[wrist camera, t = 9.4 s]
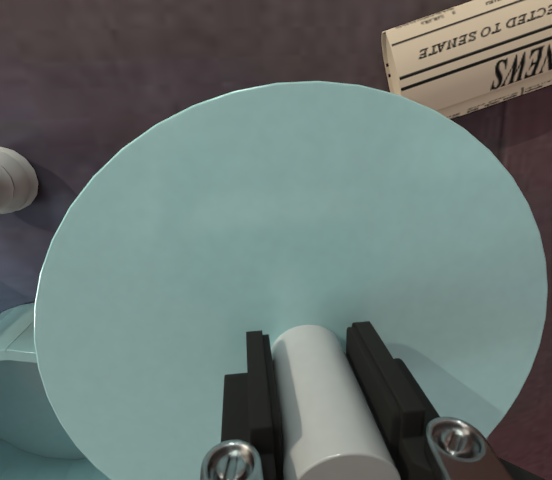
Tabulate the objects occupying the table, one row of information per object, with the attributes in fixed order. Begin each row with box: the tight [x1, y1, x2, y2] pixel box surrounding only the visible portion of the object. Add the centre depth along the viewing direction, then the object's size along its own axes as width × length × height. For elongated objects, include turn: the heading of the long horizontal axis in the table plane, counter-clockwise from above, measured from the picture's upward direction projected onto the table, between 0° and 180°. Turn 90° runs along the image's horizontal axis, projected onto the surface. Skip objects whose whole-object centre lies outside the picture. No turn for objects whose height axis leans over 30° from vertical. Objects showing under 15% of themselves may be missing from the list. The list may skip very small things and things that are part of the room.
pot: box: [0, 302, 110, 480], centre depth 28 cm, size 17×22×6 cm
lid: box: [34, 81, 548, 480], centre depth 11 cm, size 18×18×6 cm
